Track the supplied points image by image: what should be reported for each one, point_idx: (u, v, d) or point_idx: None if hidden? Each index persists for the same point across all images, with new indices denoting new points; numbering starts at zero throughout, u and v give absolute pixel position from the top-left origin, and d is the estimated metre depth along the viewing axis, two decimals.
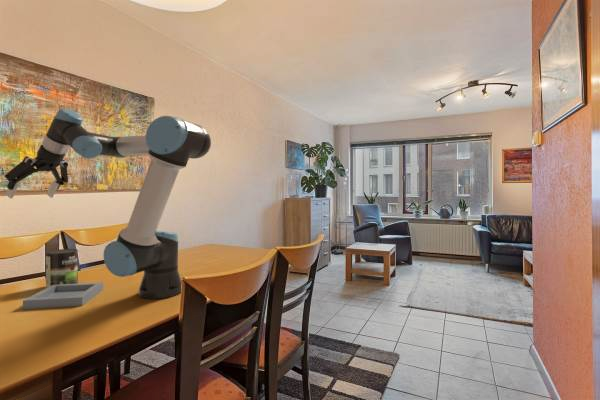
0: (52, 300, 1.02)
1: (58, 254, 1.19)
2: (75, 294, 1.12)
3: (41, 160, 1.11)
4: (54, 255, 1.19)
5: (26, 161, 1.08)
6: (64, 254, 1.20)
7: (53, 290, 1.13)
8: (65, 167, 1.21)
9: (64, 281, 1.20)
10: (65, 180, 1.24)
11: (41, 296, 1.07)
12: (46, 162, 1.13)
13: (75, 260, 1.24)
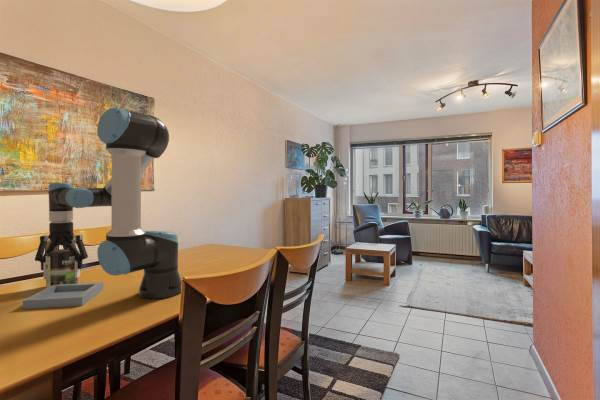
0: (52, 300, 1.02)
1: (58, 254, 1.19)
2: (75, 294, 1.12)
3: (50, 234, 1.22)
4: (54, 255, 1.19)
5: None
6: (64, 254, 1.20)
7: (53, 290, 1.13)
8: (77, 240, 1.24)
9: (64, 281, 1.20)
10: (82, 256, 1.24)
11: (41, 296, 1.07)
12: (56, 234, 1.22)
13: (75, 260, 1.24)
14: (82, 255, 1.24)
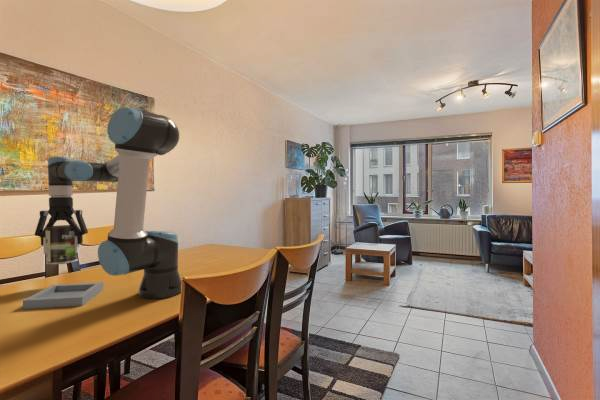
0: (52, 300, 1.02)
1: (58, 228, 1.19)
2: (75, 294, 1.12)
3: (50, 208, 1.21)
4: (54, 229, 1.18)
5: None
6: (64, 228, 1.20)
7: (53, 290, 1.13)
8: (77, 215, 1.23)
9: (64, 255, 1.20)
10: (82, 231, 1.24)
11: (41, 296, 1.07)
12: (56, 209, 1.22)
13: (75, 235, 1.24)
14: (82, 230, 1.24)
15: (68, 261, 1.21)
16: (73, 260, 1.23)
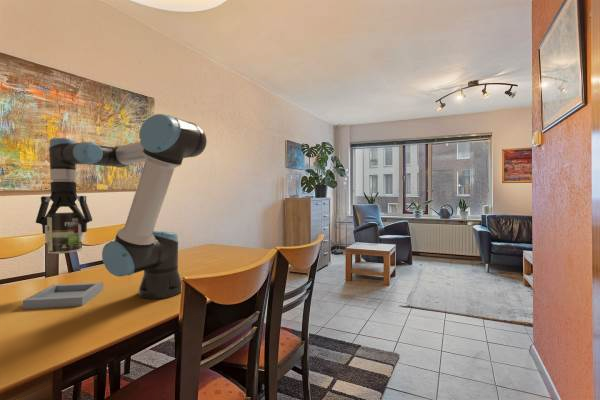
0: (52, 300, 1.02)
1: (60, 215, 1.10)
2: (75, 294, 1.12)
3: (52, 194, 1.13)
4: (56, 216, 1.10)
5: None
6: (67, 215, 1.11)
7: (53, 290, 1.13)
8: (81, 201, 1.15)
9: (67, 244, 1.11)
10: (86, 218, 1.15)
11: (41, 296, 1.07)
12: (58, 195, 1.13)
13: (79, 223, 1.15)
14: (86, 217, 1.15)
15: (71, 250, 1.12)
16: (77, 249, 1.14)
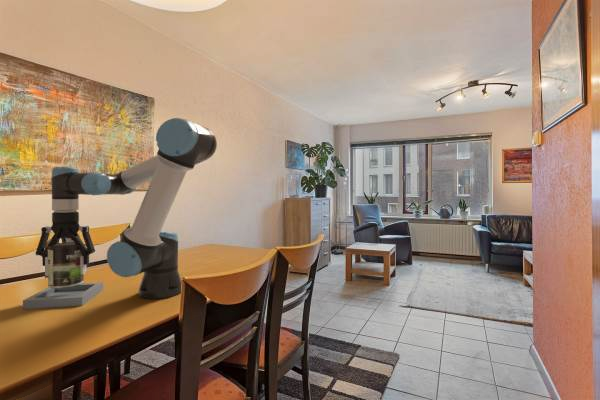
0: (52, 300, 1.02)
1: (62, 247, 1.05)
2: (75, 294, 1.12)
3: (53, 225, 1.08)
4: (57, 249, 1.05)
5: None
6: (69, 248, 1.06)
7: (53, 290, 1.13)
8: (83, 232, 1.10)
9: (68, 278, 1.06)
10: (88, 250, 1.10)
11: (41, 296, 1.07)
12: (60, 225, 1.08)
13: (81, 255, 1.10)
14: (89, 249, 1.10)
15: (73, 284, 1.08)
16: (78, 283, 1.09)
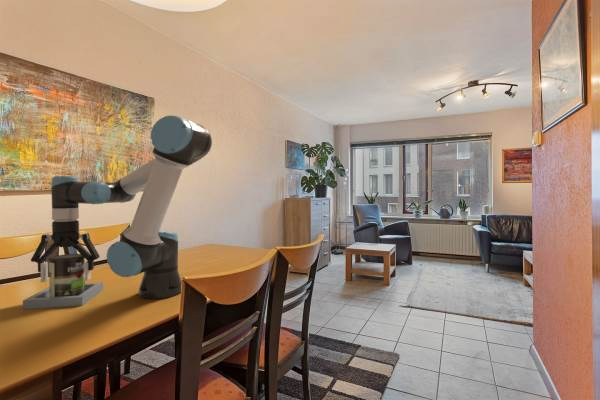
0: (52, 300, 1.02)
1: (63, 260, 1.05)
2: None
3: (54, 234, 1.08)
4: (59, 261, 1.05)
5: None
6: (70, 260, 1.06)
7: None
8: (84, 239, 1.10)
9: (69, 290, 1.07)
10: (93, 256, 1.11)
11: (41, 296, 1.07)
12: (60, 235, 1.08)
13: (82, 267, 1.11)
14: (93, 255, 1.11)
15: None
16: None
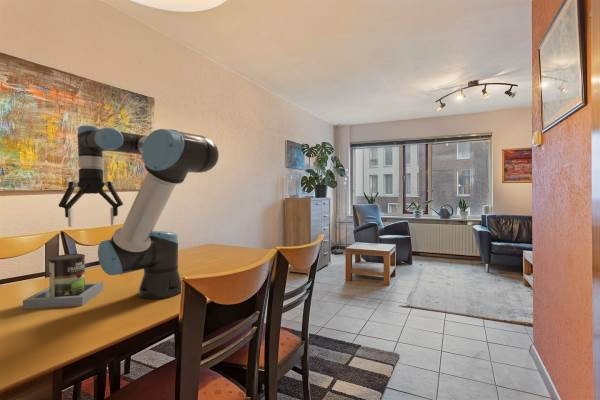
0: (52, 300, 1.02)
1: (63, 260, 1.05)
2: None
3: (81, 181, 1.14)
4: (59, 261, 1.05)
5: None
6: (70, 260, 1.06)
7: None
8: (109, 186, 1.17)
9: (69, 290, 1.07)
10: (117, 202, 1.18)
11: (41, 296, 1.07)
12: (86, 182, 1.15)
13: (82, 267, 1.11)
14: (118, 201, 1.18)
15: None
16: None
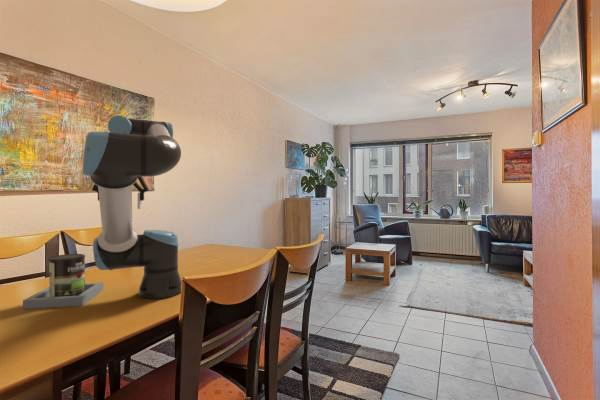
0: (52, 300, 1.02)
1: (63, 260, 1.05)
2: None
3: None
4: (59, 261, 1.05)
5: None
6: (70, 260, 1.06)
7: None
8: None
9: (69, 290, 1.07)
10: (144, 188, 1.27)
11: (41, 296, 1.07)
12: None
13: (82, 267, 1.11)
14: (144, 187, 1.27)
15: None
16: None
